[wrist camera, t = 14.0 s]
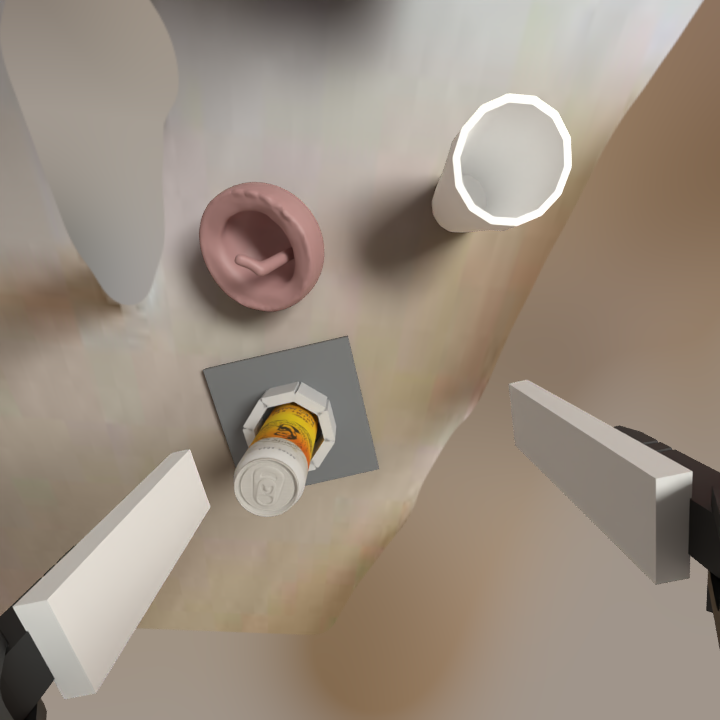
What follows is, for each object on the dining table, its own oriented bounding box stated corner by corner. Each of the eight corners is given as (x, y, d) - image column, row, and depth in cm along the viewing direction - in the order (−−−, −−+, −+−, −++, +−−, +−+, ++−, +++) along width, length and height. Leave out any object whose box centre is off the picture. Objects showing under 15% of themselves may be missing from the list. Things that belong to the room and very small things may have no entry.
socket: (206, 368, 42) (187, 378, 37) (347, 335, 42) (347, 341, 37) (248, 494, 45) (236, 519, 41) (378, 465, 45) (382, 486, 40)
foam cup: (457, 263, 40) (508, 251, 28) (401, 207, 39) (427, 167, 26) (515, 200, 39) (596, 157, 26) (459, 140, 38) (517, 63, 25)
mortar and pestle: (205, 271, 39) (149, 264, 28) (256, 178, 38) (217, 131, 26) (294, 326, 41) (274, 340, 30) (346, 240, 39) (346, 220, 28)
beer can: (322, 402, 42) (308, 461, 27) (314, 446, 43) (297, 526, 29) (274, 393, 42) (233, 448, 27) (267, 439, 43) (224, 515, 28)
